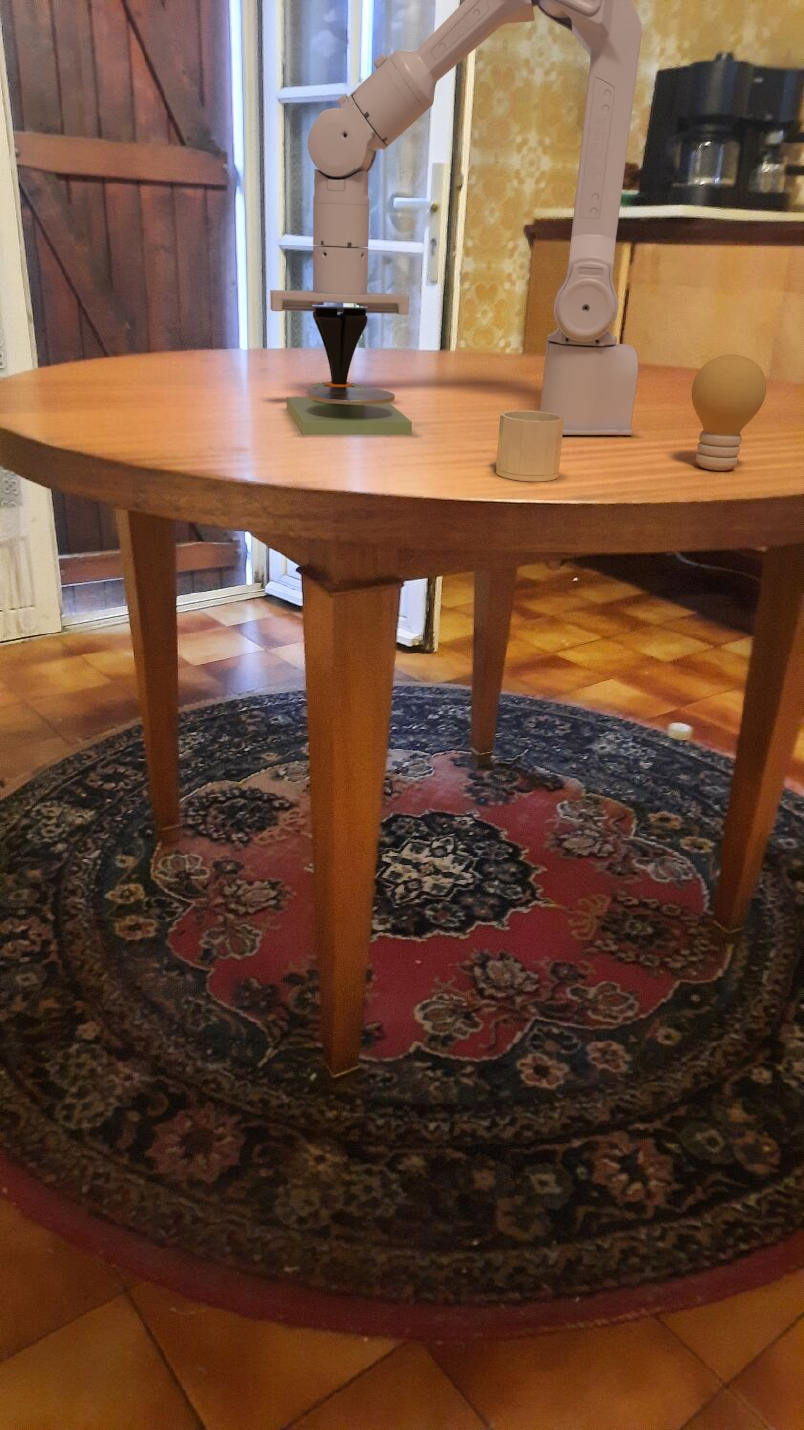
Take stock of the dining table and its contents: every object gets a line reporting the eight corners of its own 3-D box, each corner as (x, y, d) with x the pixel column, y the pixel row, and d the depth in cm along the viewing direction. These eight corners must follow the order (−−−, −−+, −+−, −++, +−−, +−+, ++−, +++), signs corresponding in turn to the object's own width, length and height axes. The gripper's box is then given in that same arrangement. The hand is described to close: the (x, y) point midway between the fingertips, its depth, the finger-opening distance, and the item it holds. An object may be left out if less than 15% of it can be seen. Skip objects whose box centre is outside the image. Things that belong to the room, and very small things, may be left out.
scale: (286, 409, 114) (286, 381, 113) (382, 410, 116) (383, 382, 115) (302, 435, 101) (302, 404, 99) (411, 435, 103) (412, 405, 102)
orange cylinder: (324, 397, 113) (324, 381, 112) (349, 397, 114) (349, 381, 113) (328, 401, 111) (328, 385, 110) (353, 402, 111) (353, 385, 110)
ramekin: (546, 467, 92) (551, 410, 90) (566, 481, 87) (573, 421, 85) (488, 468, 91) (493, 410, 88) (506, 482, 86) (511, 421, 84)
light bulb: (740, 479, 90) (762, 361, 86) (670, 468, 93) (688, 354, 89) (758, 467, 95) (780, 355, 91) (691, 458, 98) (709, 348, 94)
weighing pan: (385, 391, 109) (385, 387, 109) (402, 405, 101) (403, 401, 101) (302, 390, 107) (301, 386, 107) (312, 404, 100) (313, 400, 99)
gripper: (401, 248, 110) (396, 379, 116) (267, 243, 107) (269, 377, 113) (415, 250, 104) (409, 388, 110) (273, 245, 101) (275, 387, 107)
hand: (338, 383), depth 111 cm, fingers closed, pressing on orange cylinder
